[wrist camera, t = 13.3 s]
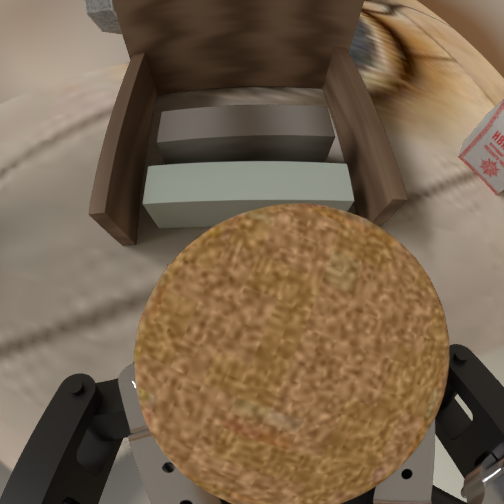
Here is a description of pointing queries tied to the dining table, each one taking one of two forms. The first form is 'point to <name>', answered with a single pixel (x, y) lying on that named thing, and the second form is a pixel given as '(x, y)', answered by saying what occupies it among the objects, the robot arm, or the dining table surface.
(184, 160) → the charcoal offcut
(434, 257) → the dining table surface
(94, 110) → the dining table surface
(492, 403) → the robot arm
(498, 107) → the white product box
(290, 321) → the bottle
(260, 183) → the sage offcut
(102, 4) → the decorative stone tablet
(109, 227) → the walnut rack
